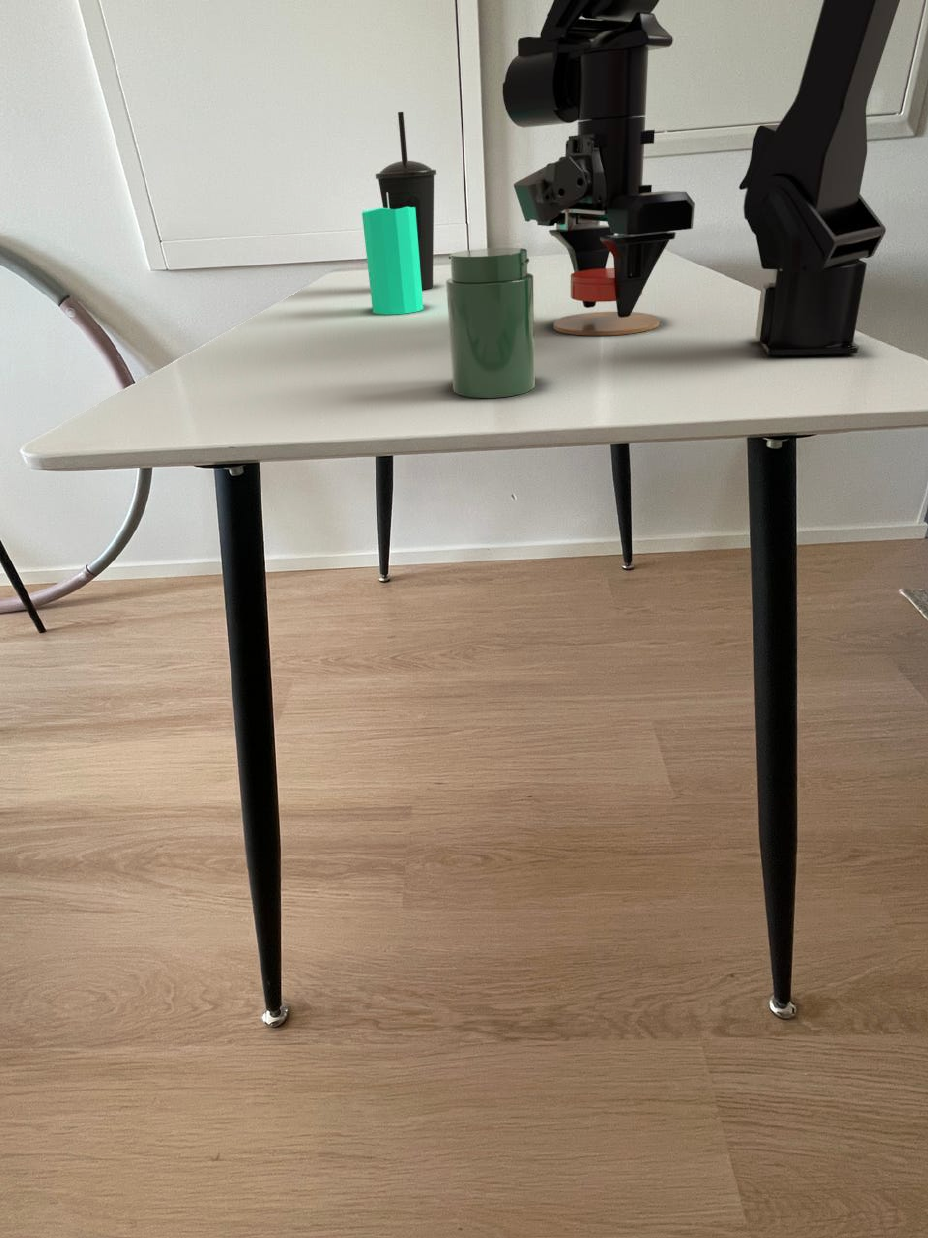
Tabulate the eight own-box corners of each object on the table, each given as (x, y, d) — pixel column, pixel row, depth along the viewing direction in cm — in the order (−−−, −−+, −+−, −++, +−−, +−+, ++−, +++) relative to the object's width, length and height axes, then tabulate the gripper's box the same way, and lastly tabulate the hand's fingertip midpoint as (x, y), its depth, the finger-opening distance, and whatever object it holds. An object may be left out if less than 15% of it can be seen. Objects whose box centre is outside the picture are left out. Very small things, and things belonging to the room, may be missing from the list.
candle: (416, 313, 89) (406, 191, 83) (365, 315, 90) (351, 195, 84) (429, 304, 94) (420, 189, 88) (381, 306, 95) (368, 192, 89)
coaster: (657, 314, 80) (657, 309, 79) (660, 334, 71) (661, 329, 71) (557, 317, 81) (557, 313, 81) (549, 337, 73) (549, 332, 73)
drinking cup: (454, 284, 107) (444, 109, 97) (422, 293, 102) (407, 108, 92) (409, 283, 111) (394, 114, 101) (375, 291, 106) (356, 114, 96)
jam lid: (588, 304, 71) (588, 280, 70) (558, 294, 77) (558, 272, 76) (655, 296, 73) (656, 272, 72) (621, 287, 79) (622, 265, 78)
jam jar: (538, 376, 60) (537, 245, 56) (530, 397, 55) (527, 254, 51) (461, 378, 61) (453, 249, 57) (446, 398, 56) (436, 259, 52)
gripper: (484, 130, 74) (491, 308, 81) (575, 116, 58) (573, 338, 66) (592, 123, 76) (589, 296, 84) (706, 109, 61) (689, 322, 69)
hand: (605, 311), depth 76 cm, fingers closed on jam lid, 6 cm apart
